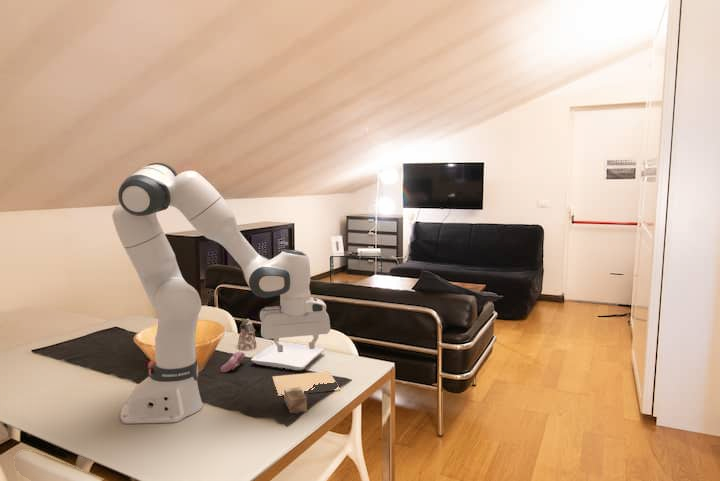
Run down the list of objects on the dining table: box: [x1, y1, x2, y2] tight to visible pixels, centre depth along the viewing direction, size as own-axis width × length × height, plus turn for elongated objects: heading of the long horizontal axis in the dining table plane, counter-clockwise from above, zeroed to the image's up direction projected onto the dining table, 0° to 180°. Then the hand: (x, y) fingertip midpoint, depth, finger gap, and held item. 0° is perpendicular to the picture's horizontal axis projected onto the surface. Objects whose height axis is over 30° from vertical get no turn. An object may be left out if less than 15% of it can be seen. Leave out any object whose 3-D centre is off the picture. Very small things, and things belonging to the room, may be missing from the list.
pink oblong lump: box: [219, 350, 246, 373], centre depth 185 cm, size 10×5×7 cm, turn 169°
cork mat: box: [272, 370, 341, 397], centre depth 173 cm, size 20×16×1 cm
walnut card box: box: [283, 387, 308, 413], centre depth 156 cm, size 5×8×5 cm, turn 20°
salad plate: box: [250, 341, 325, 371], centre depth 194 cm, size 21×21×3 cm
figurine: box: [237, 317, 257, 352], centre depth 206 cm, size 7×7×12 cm
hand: (296, 350), depth 154 cm, fingers open, 8 cm apart
